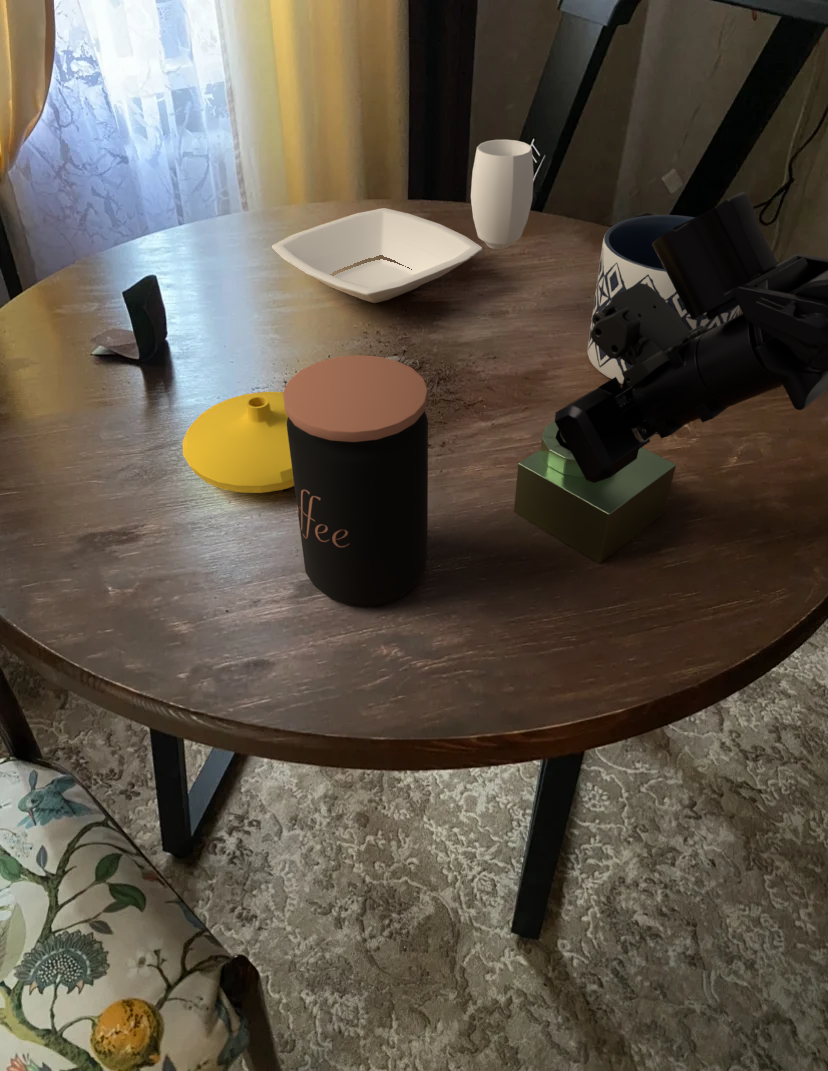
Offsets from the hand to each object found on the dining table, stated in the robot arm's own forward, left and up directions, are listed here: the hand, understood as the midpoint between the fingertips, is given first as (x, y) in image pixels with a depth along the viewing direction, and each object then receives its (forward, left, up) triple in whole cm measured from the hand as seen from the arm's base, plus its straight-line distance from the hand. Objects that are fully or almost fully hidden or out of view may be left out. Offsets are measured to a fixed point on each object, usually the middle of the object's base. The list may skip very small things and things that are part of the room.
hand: (582, 430), depth 74 cm
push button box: (-1, +1, -8) cm, 9 cm away
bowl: (+24, -46, -8) cm, 52 cm away
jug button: (0, 0, -2) cm, 2 cm away
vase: (+31, -5, -8) cm, 32 cm away
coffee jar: (+19, +10, -8) cm, 23 cm away
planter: (-11, -28, -8) cm, 31 cm away
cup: (+8, -38, -8) cm, 39 cm away
